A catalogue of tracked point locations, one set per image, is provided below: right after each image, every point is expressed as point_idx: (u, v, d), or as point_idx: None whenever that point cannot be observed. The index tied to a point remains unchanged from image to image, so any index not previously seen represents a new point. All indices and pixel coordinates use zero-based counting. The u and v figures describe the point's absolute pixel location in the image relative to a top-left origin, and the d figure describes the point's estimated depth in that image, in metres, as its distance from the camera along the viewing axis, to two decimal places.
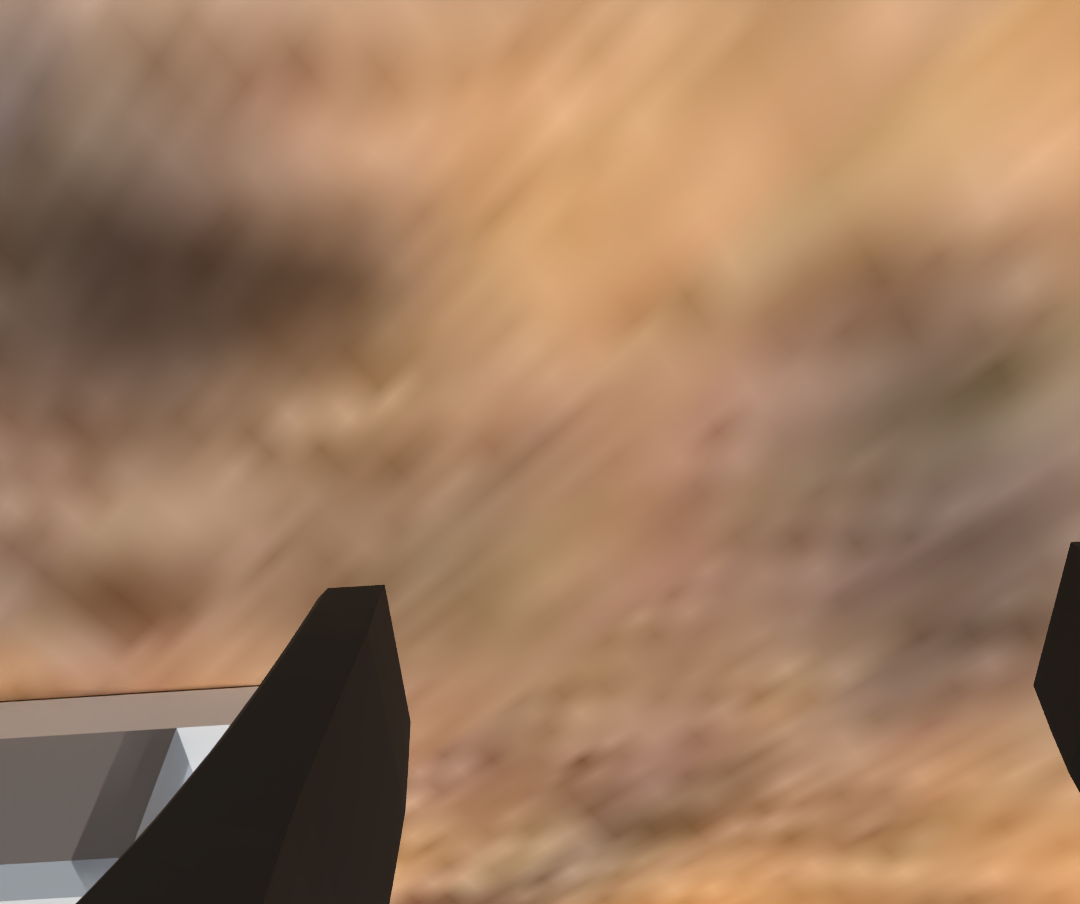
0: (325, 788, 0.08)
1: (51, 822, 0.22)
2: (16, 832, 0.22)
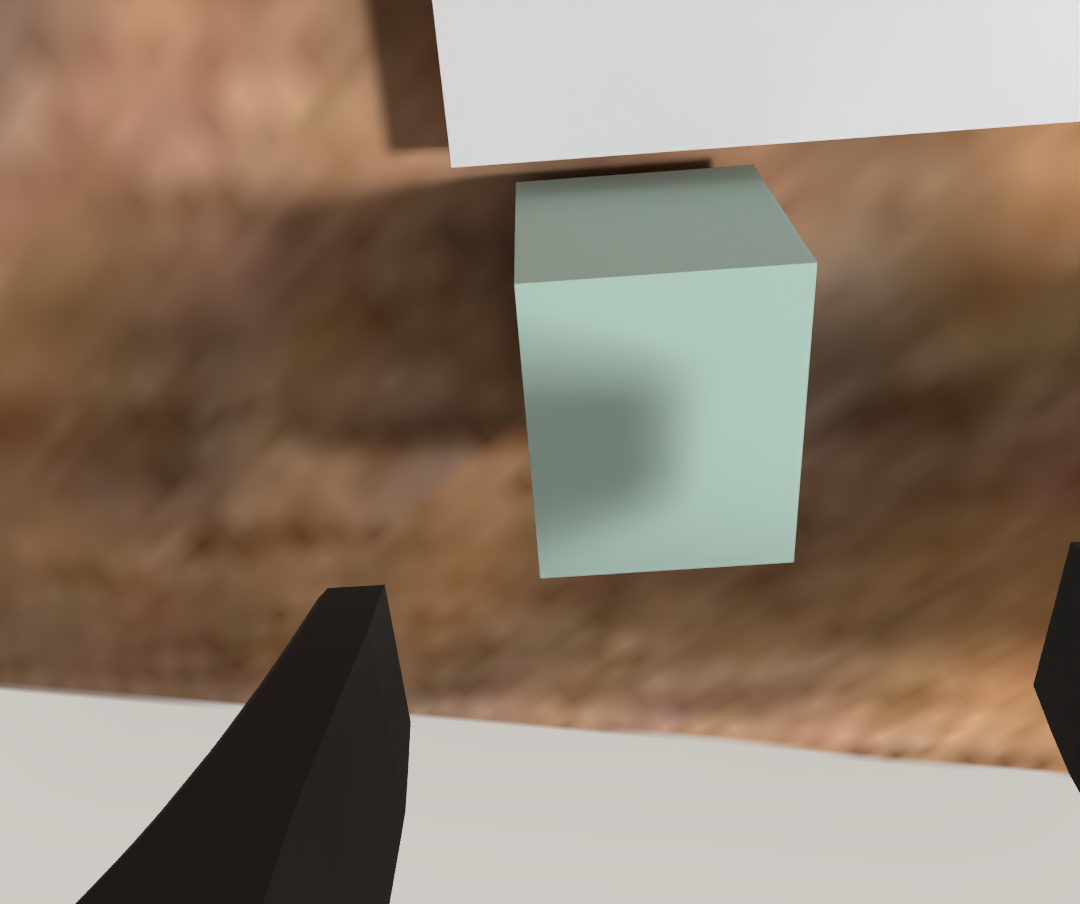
0: (326, 790, 0.08)
1: None
2: None
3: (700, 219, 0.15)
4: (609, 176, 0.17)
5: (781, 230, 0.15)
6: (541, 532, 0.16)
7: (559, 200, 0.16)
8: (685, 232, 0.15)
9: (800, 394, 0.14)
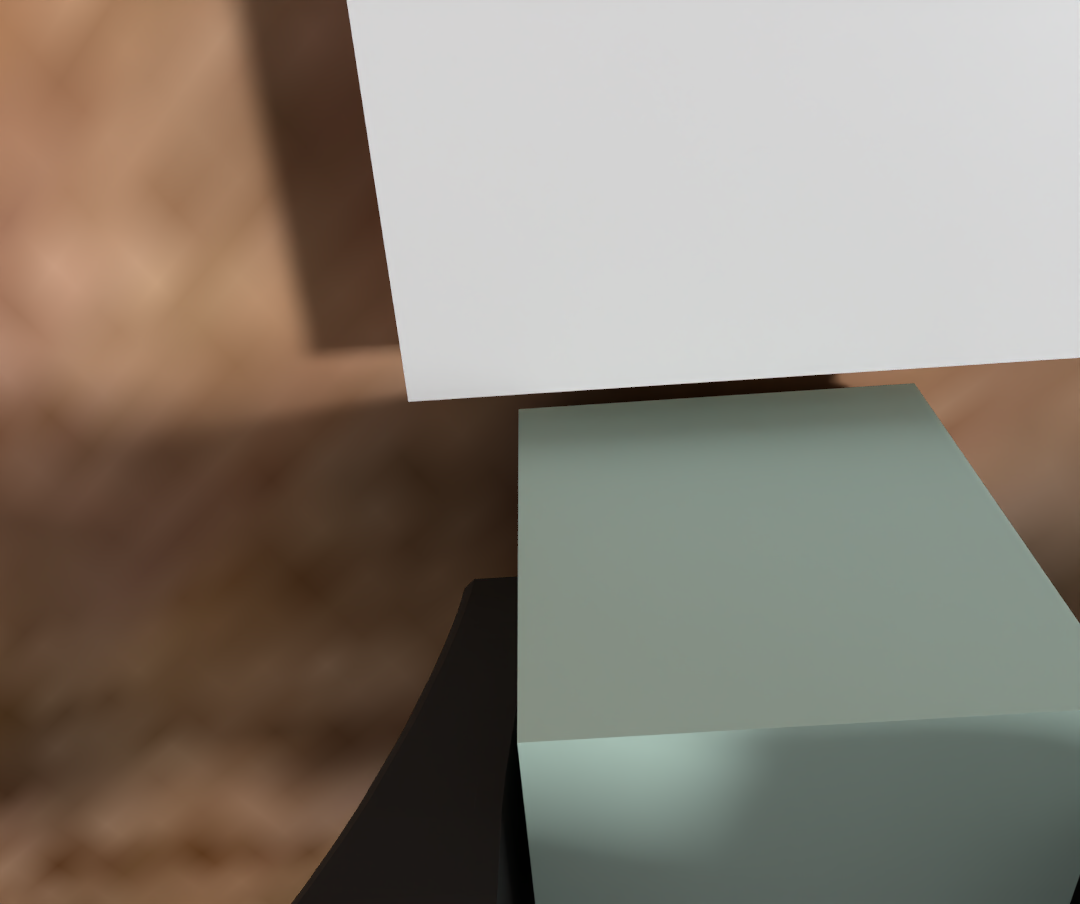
0: (514, 778, 0.08)
1: None
2: None
3: (857, 535, 0.08)
4: (673, 402, 0.10)
5: (1024, 583, 0.08)
6: None
7: (594, 464, 0.09)
8: (837, 579, 0.08)
9: (1060, 896, 0.08)
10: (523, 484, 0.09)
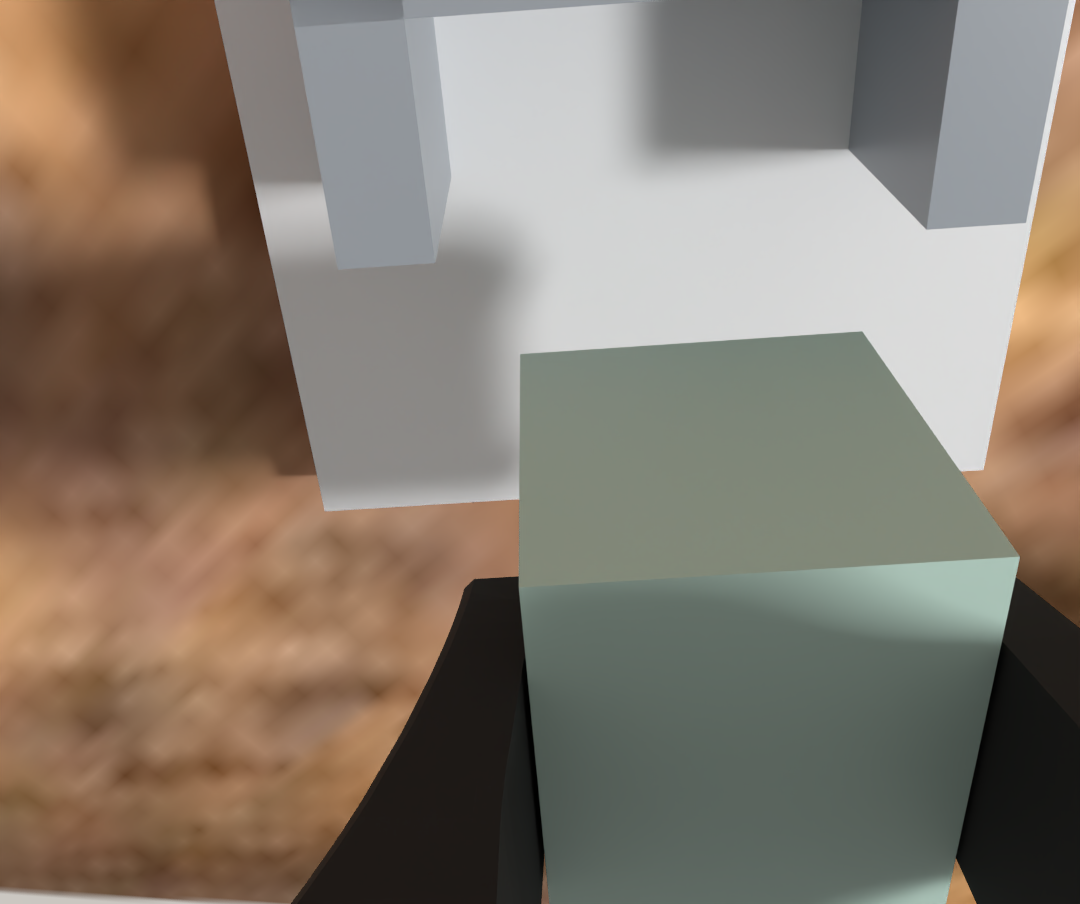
0: (513, 779, 0.08)
1: None
2: None
3: (804, 442, 0.10)
4: (654, 348, 0.12)
5: (939, 474, 0.09)
6: None
7: (584, 394, 0.11)
8: (785, 473, 0.09)
9: (971, 735, 0.09)
10: (524, 409, 0.11)
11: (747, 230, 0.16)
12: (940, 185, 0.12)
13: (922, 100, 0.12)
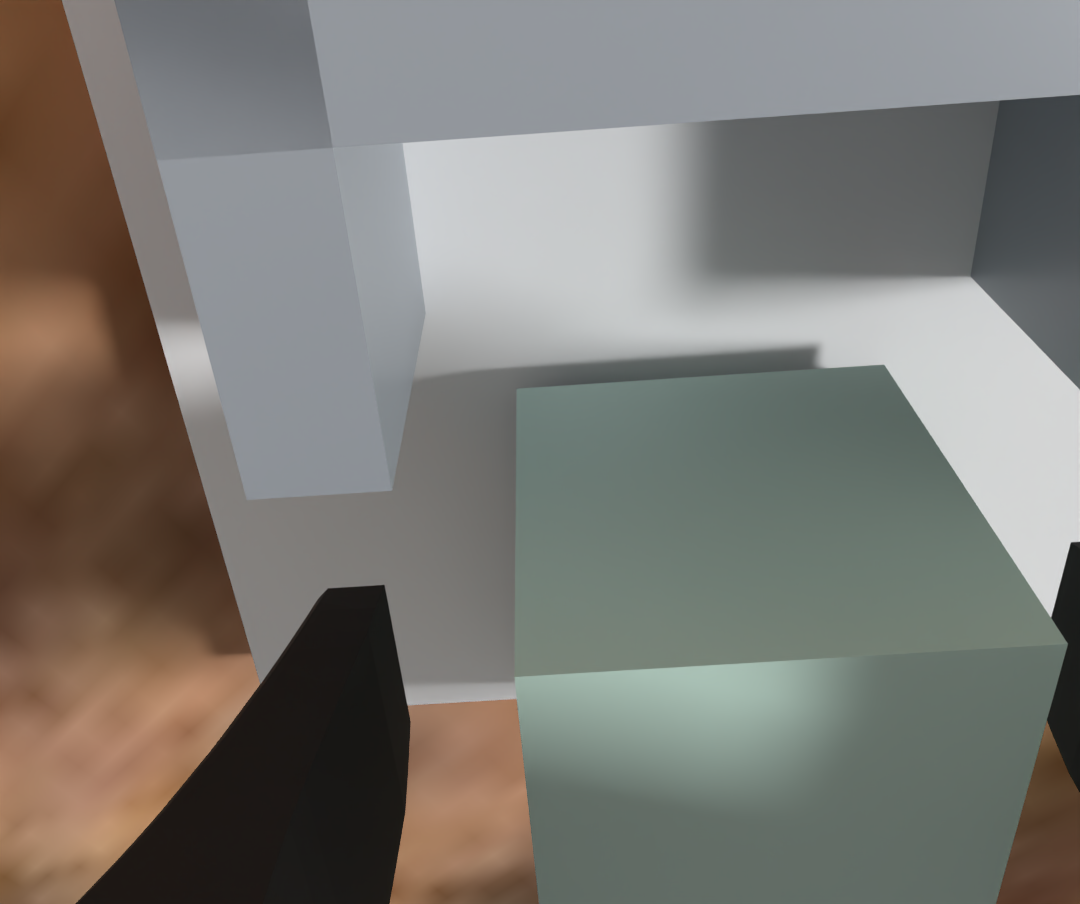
0: (326, 789, 0.08)
1: None
2: None
3: (826, 499, 0.09)
4: (660, 382, 0.11)
5: (974, 540, 0.08)
6: None
7: (586, 437, 0.10)
8: (807, 537, 0.09)
9: (1007, 823, 0.08)
10: (520, 455, 0.10)
11: None
12: None
13: None
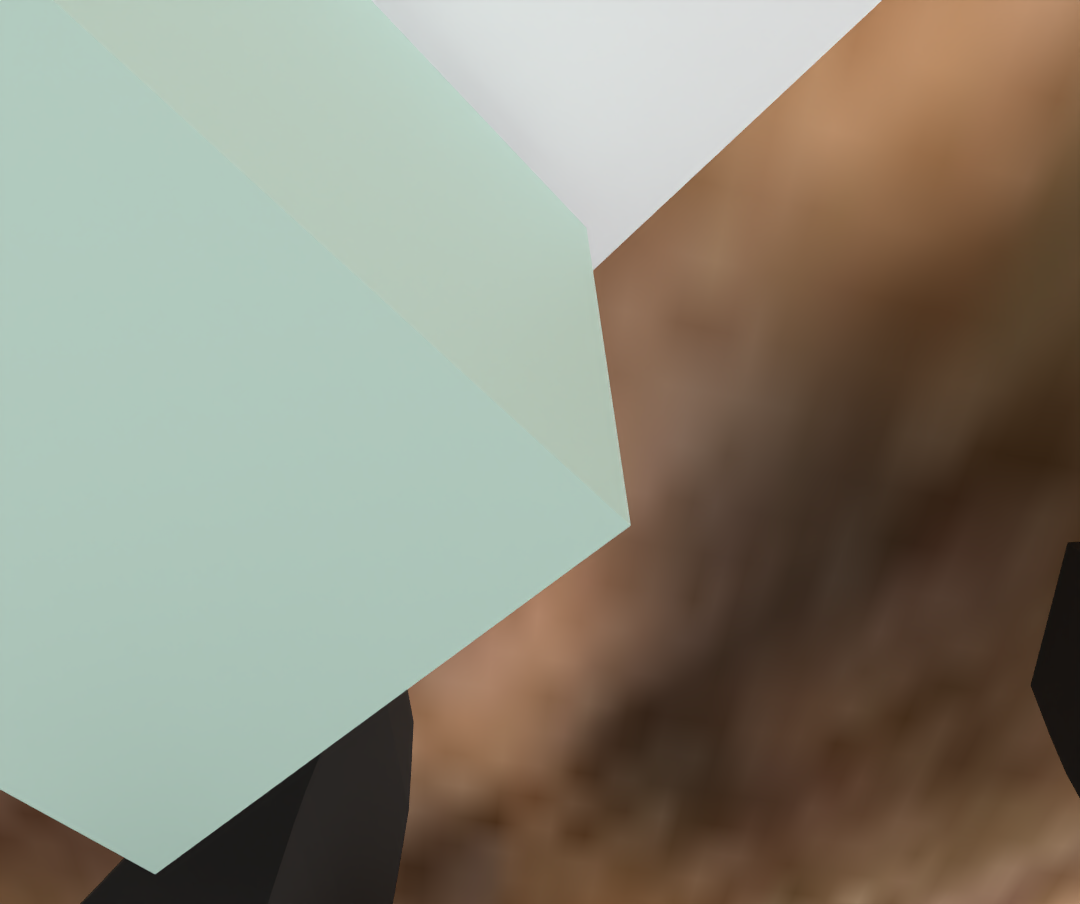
0: (330, 788, 0.08)
1: None
2: None
3: None
4: None
5: None
6: (36, 802, 0.06)
7: None
8: None
9: (110, 82, 0.04)
10: None
11: None
12: None
13: None
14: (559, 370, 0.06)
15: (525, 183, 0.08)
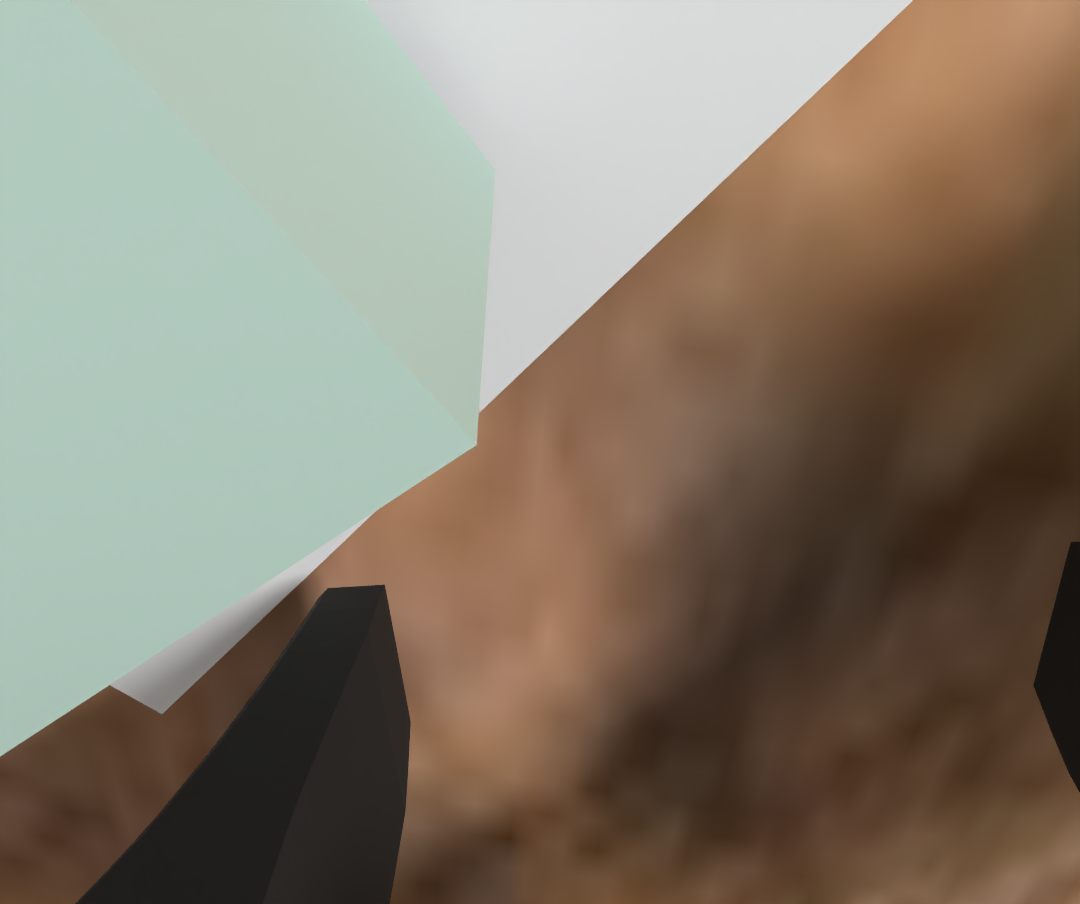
0: (326, 790, 0.08)
1: None
2: None
3: None
4: None
5: None
6: None
7: None
8: None
9: None
10: None
11: None
12: None
13: None
14: (426, 284, 0.06)
15: (431, 111, 0.08)
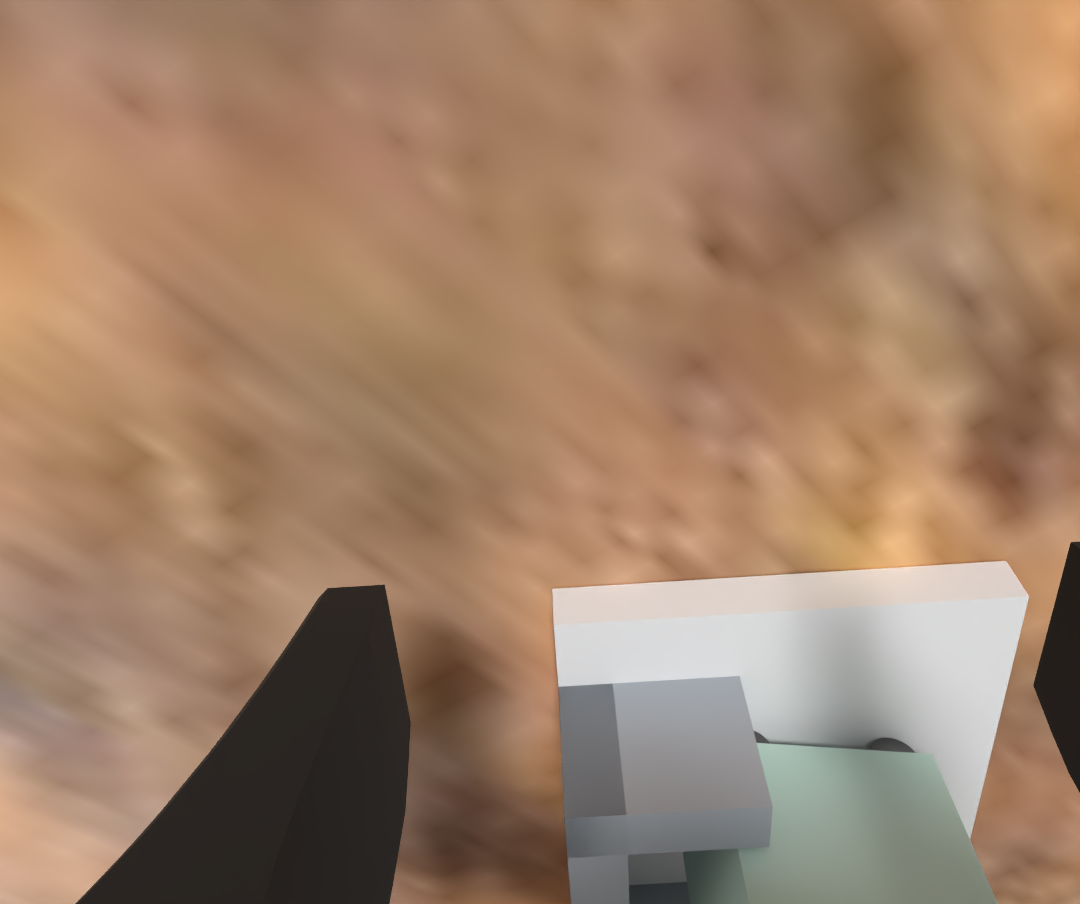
0: (326, 788, 0.08)
1: None
2: None
3: (721, 871, 0.21)
4: None
5: (738, 869, 0.20)
6: None
7: (694, 877, 0.24)
8: (723, 902, 0.21)
9: None
10: None
11: None
12: (742, 844, 0.20)
13: None
14: (967, 886, 0.20)
15: (907, 771, 0.23)
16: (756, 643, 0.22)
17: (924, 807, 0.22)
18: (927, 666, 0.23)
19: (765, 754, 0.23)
